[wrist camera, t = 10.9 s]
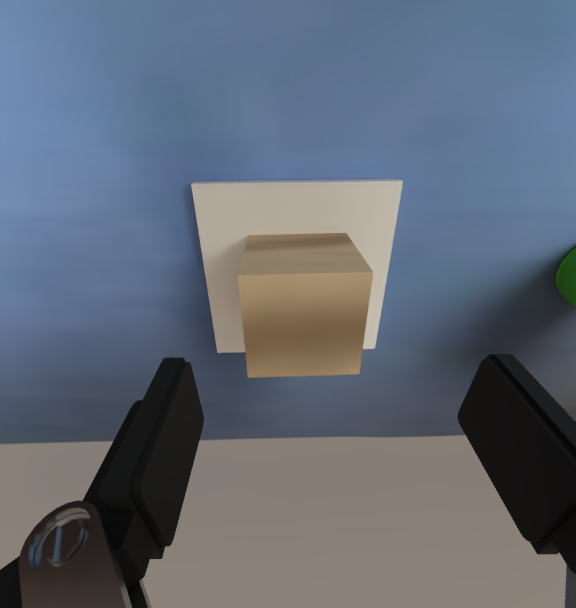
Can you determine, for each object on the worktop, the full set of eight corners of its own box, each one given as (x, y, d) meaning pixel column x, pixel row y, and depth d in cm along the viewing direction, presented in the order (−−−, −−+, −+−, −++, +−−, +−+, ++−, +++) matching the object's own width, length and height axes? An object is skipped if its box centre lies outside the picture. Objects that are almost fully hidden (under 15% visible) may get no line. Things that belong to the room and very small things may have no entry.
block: (248, 234, 18) (237, 275, 13) (346, 233, 19) (373, 271, 13) (255, 318, 21) (247, 377, 16) (339, 315, 22) (359, 374, 16)
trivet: (195, 181, 18) (191, 183, 17) (397, 178, 18) (403, 180, 17) (219, 344, 24) (217, 352, 23) (371, 340, 24) (374, 348, 23)
